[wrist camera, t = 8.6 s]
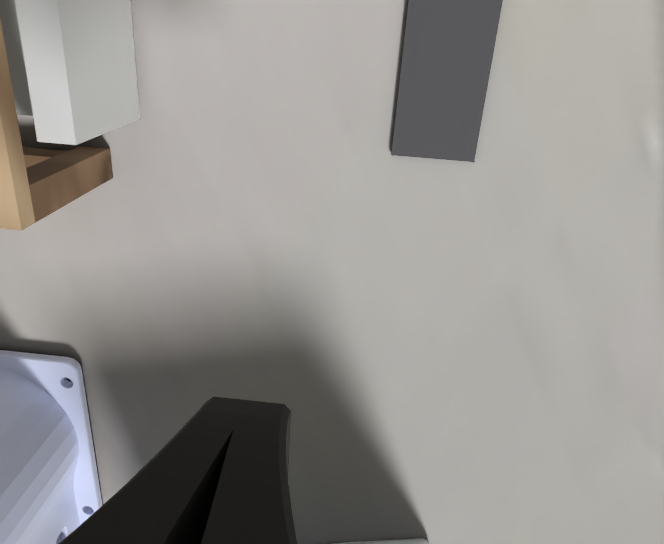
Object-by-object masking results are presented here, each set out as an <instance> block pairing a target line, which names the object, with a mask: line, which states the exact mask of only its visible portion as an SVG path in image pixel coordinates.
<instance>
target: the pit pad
mask: <svg viewBox="0 0 664 544" xmlns="http://www.w3.org/2000/svg"><path fill="white" fill-rule="evenodd" d="M501 6H502V0H408V8H407V17H406V26H405V35H404V44H403V53H402V62H401V71H400V80H399V89H398V98H397V107H396V116H395V125H394V134H393V143H392V152H391V155H398V156H410V157H422V158H434V159H446V160H458V161H470V162H474V159H475V154H476V148H477V142H478V137H479V131H480V125H481V120H482V114H483V108H484V103H485V97H486V91H487V86H488V80H489V74H490V69H491V63H492V57H493V52H494V46H495V40H496V35H497V29H498V23H499V17H500V12H501Z"/></svg>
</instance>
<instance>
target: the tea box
mask: <svg viewBox="0 0 664 544" xmlns="http://www.w3.org/2000/svg"><path fill="white" fill-rule="evenodd" d="M332 544H429V542H428V541H426V540H425V539H424V538H421V539H401V540H381V541H364V542H347V543H332Z"/></svg>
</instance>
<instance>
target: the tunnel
mask: <svg viewBox="0 0 664 544" xmlns="http://www.w3.org/2000/svg"><path fill="white" fill-rule="evenodd" d="M111 178H113V173H112V164H111V154H110V148H101V147H90V146H79V147H76V148H74V149H71V150H69V151H67V150H55V149H44V148H32V147H22V142H21V136H20V131H19V125H18V119H17V113H16V107H15V102H14V96H13V90H12V84H11V78H10V72H9V67H8V61H7V55H6V49H5V43H4V38H3V32H2V26H1V20H0V228H3V229H13V230H23V229H25V228H27V227H28V226H30V225H32V224H33V223H35V222H37V221H39V220H40V219H42V218H44V217H46V216H47V215H49V214H51V213H53V212H54V211H56V210H58V209H59V208H61V207H63V206H65V205H66V204H68V203H70V202H72V201H73V200H75V199H77V198H79V197H80V196H82V195H84V194H85V193H87V192H89V191H91V190H92V189H94V188H96V187H98V186H99V185H101V184H103V183H104V182H106V181H108V180H110V179H111Z"/></svg>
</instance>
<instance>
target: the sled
mask: <svg viewBox="0 0 664 544" xmlns="http://www.w3.org/2000/svg"><path fill="white" fill-rule="evenodd" d="M0 20H1V26H2V32H3V38H4V43H5V49H6V55H7V61H8V67H9V72H10V78H11V84H12V90H13V96H14V102H15V107H16V113H17V114H19V115H31V116H33V118H34V124H35V130H36V137H37V142H45V143H57V144H69V145H78V144H80V143H83V142H85V141H88V140H90V139H93V138H95V137H98V136H100V135H103V134H105V133H108V132H110V131H113V130H115V129H118V128H120V127H123V126H125V125H128V124H130V123H133V122H135V121H137V120H140V111H139V99H138V87H137V74H136V62H135V49H134V37H133V24H132V12H131V0H0Z"/></svg>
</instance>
